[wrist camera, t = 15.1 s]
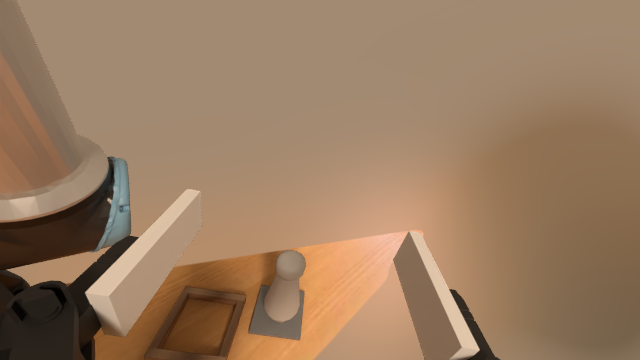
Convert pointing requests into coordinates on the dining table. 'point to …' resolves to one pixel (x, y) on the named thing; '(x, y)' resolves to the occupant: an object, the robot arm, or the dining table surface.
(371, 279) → the dining table surface
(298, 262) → the salt shaker
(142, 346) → the dining table surface
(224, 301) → the walnut collar
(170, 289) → the dining table surface
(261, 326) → the charcoal coaster
